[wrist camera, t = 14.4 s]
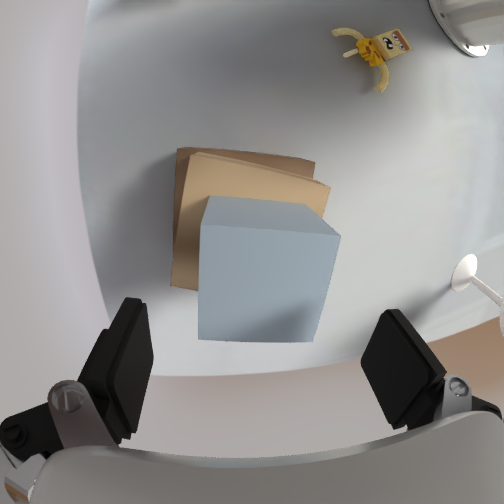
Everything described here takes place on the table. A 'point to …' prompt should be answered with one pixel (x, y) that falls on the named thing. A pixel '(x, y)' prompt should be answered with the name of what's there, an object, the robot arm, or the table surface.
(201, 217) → the tower top
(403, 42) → the character toy
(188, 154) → the tower bottom
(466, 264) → the champagne flute
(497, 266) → the table surface
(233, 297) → the blue cube
